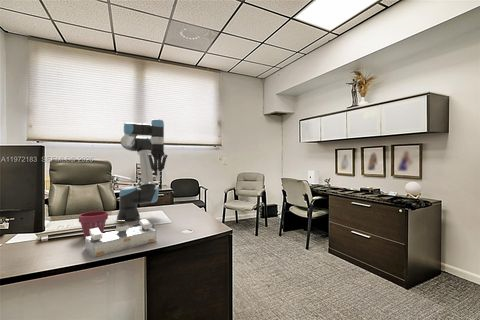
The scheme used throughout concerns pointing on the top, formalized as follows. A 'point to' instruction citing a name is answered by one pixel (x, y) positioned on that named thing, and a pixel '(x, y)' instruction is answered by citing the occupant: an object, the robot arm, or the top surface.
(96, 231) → the rocker
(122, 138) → the robot arm
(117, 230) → the rocker
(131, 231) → the console
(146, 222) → the rocker
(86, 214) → the plant pot
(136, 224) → the keypad
